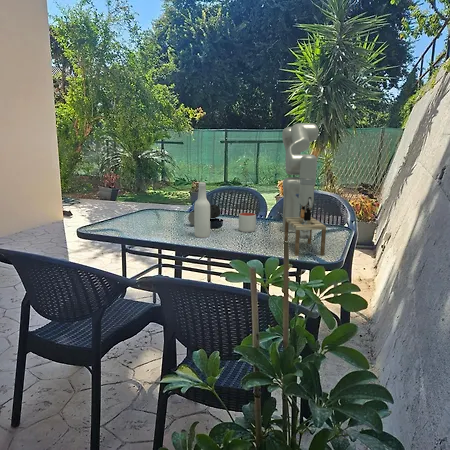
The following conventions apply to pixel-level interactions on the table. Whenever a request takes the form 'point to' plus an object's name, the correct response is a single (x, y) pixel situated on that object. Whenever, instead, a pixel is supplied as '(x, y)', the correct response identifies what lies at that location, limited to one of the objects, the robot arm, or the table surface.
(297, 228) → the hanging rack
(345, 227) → the table surface
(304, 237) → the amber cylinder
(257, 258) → the table surface
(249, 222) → the cup
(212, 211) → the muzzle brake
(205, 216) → the alcohol
